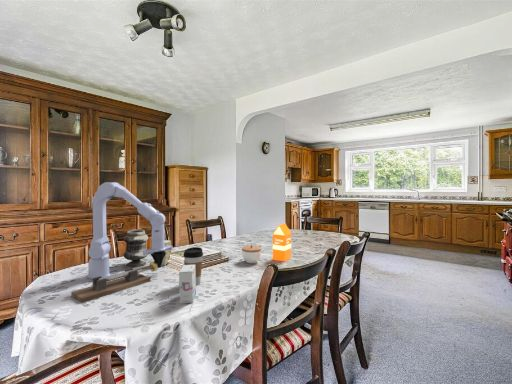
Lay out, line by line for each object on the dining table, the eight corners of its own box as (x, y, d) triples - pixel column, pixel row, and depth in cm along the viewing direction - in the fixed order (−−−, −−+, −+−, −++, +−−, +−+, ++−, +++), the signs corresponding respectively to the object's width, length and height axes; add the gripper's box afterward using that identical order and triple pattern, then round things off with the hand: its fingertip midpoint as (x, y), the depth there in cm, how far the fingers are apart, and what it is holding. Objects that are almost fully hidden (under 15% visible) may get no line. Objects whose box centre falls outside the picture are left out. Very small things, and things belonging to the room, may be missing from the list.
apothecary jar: (133, 269, 135) (133, 233, 134) (118, 265, 140) (118, 231, 140) (153, 263, 145) (153, 230, 144) (138, 259, 151) (138, 228, 150)
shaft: (96, 285, 108) (96, 274, 108) (152, 269, 127) (152, 260, 127) (101, 287, 105) (101, 276, 105) (157, 271, 125) (157, 262, 125)
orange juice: (291, 257, 158) (291, 223, 157) (284, 261, 150) (284, 225, 149) (279, 255, 162) (279, 222, 161) (272, 259, 154) (272, 224, 154)
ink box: (183, 293, 106) (183, 264, 105) (196, 293, 106) (196, 263, 106) (178, 303, 97) (178, 271, 97) (192, 303, 98) (192, 271, 97)
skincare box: (165, 265, 141) (165, 242, 140) (157, 265, 141) (157, 242, 141) (171, 262, 147) (171, 240, 146) (164, 261, 148) (164, 239, 147)
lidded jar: (264, 262, 148) (265, 245, 148) (248, 265, 142) (248, 248, 141) (254, 257, 157) (254, 242, 156) (238, 260, 151) (238, 244, 150)
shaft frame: (71, 295, 103) (71, 281, 103) (138, 276, 125) (138, 264, 125) (82, 302, 97) (81, 287, 97) (150, 281, 119) (150, 268, 119)
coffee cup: (206, 281, 119) (206, 247, 119) (196, 288, 111) (196, 252, 111) (190, 279, 122) (190, 246, 121) (179, 285, 114) (179, 250, 113)
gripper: (148, 242, 119) (149, 273, 119) (176, 237, 130) (176, 265, 131) (140, 240, 123) (140, 269, 123) (167, 235, 135) (167, 262, 135)
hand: (158, 267), depth 127 cm, fingers closed
